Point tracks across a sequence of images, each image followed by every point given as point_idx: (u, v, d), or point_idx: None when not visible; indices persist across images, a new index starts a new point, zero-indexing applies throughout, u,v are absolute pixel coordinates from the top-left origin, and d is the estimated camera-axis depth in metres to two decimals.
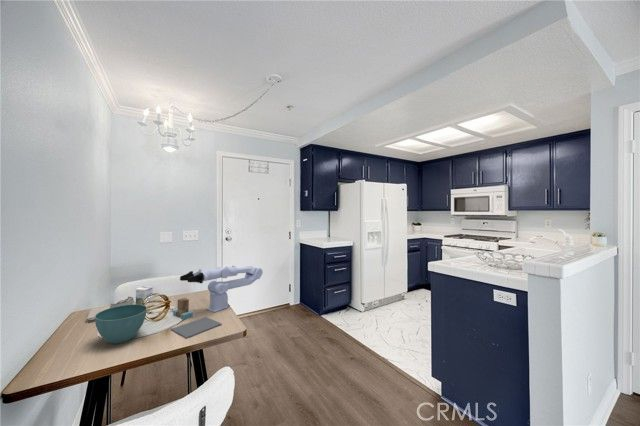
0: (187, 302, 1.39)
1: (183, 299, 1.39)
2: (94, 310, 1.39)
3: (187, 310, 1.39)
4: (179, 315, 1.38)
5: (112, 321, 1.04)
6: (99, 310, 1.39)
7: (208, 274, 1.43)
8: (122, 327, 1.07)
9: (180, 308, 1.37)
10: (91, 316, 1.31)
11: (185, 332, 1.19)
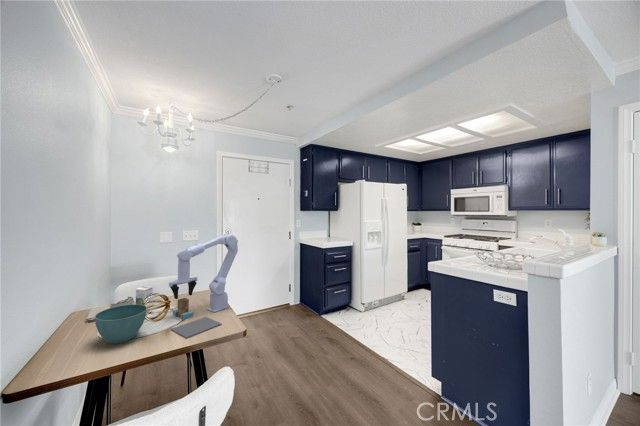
0: (187, 302, 1.39)
1: (183, 299, 1.39)
2: (94, 310, 1.39)
3: (187, 310, 1.39)
4: (179, 315, 1.38)
5: (112, 321, 1.04)
6: (99, 310, 1.39)
7: None
8: (122, 327, 1.07)
9: (180, 308, 1.37)
10: (91, 316, 1.31)
11: (185, 332, 1.19)
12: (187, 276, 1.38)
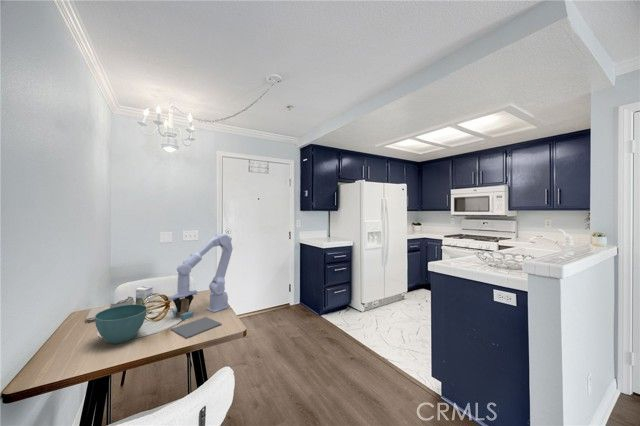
0: (187, 302, 1.39)
1: (183, 299, 1.39)
2: (94, 310, 1.39)
3: (187, 310, 1.39)
4: (179, 315, 1.38)
5: (112, 321, 1.04)
6: (99, 310, 1.39)
7: None
8: (122, 327, 1.07)
9: None
10: (90, 316, 1.31)
11: (185, 332, 1.19)
12: (187, 290, 1.38)
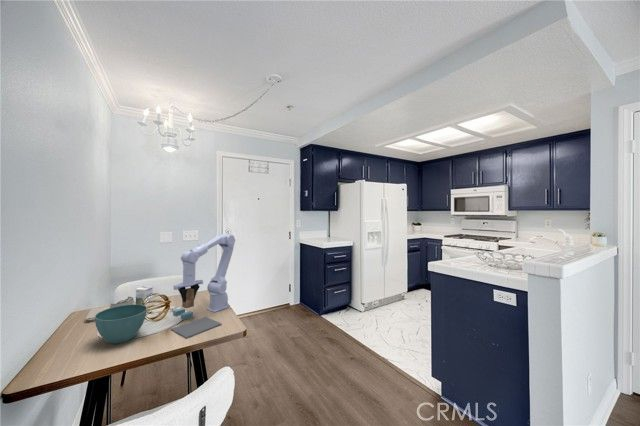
0: (192, 292, 1.34)
1: (188, 289, 1.34)
2: (94, 310, 1.39)
3: (192, 300, 1.34)
4: (184, 305, 1.32)
5: (112, 321, 1.04)
6: (98, 310, 1.39)
7: (183, 277, 1.32)
8: (122, 327, 1.07)
9: None
10: (89, 316, 1.31)
11: (185, 332, 1.19)
12: (192, 279, 1.33)
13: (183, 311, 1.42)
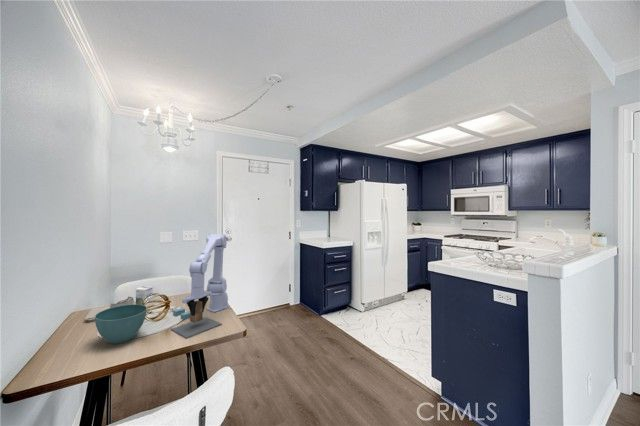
0: (201, 305, 1.27)
1: None
2: (93, 310, 1.39)
3: (201, 313, 1.27)
4: (192, 319, 1.25)
5: (112, 321, 1.04)
6: (98, 310, 1.39)
7: (191, 290, 1.24)
8: (122, 327, 1.07)
9: None
10: (89, 316, 1.31)
11: (185, 332, 1.19)
12: (202, 291, 1.25)
13: (183, 311, 1.42)
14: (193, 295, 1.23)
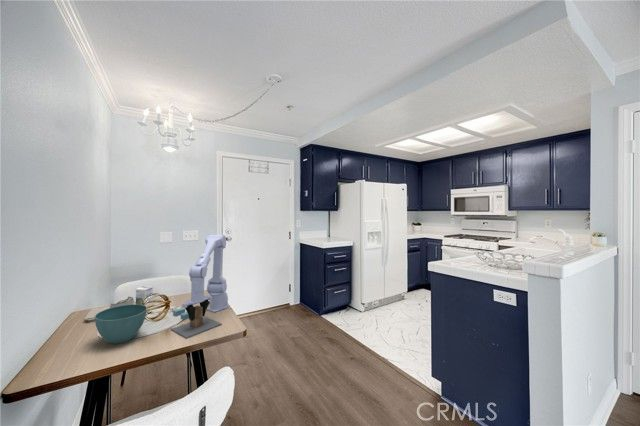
0: (201, 310, 1.27)
1: (196, 307, 1.27)
2: (93, 310, 1.39)
3: (201, 319, 1.27)
4: (192, 325, 1.25)
5: (112, 321, 1.04)
6: (98, 310, 1.39)
7: (191, 294, 1.24)
8: (122, 327, 1.07)
9: (194, 316, 1.24)
10: (89, 316, 1.31)
11: (185, 332, 1.19)
12: (202, 295, 1.25)
13: (183, 311, 1.42)
14: (193, 299, 1.23)
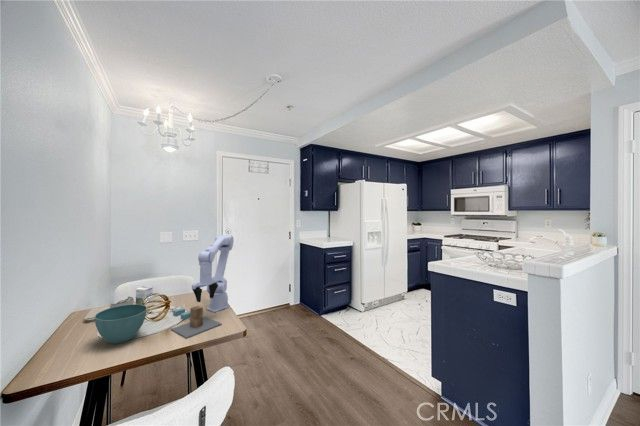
0: (201, 310, 1.27)
1: (196, 307, 1.26)
2: (93, 310, 1.39)
3: (201, 319, 1.27)
4: (193, 325, 1.25)
5: (112, 321, 1.04)
6: (98, 310, 1.39)
7: (200, 277, 1.34)
8: (122, 327, 1.07)
9: (194, 317, 1.24)
10: (88, 316, 1.31)
11: (185, 332, 1.19)
12: (210, 278, 1.35)
13: (183, 311, 1.42)
14: (201, 282, 1.33)
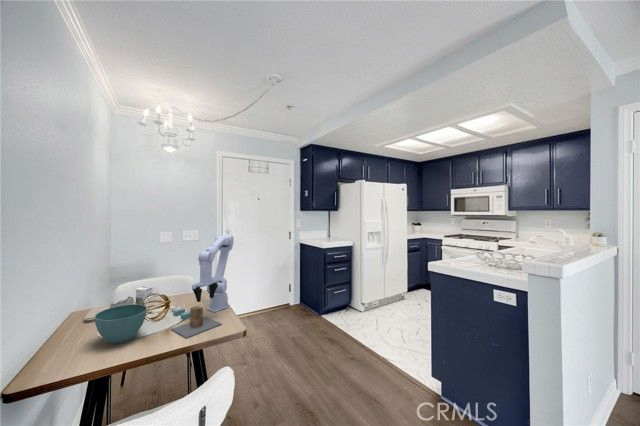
0: (201, 310, 1.27)
1: (196, 307, 1.26)
2: (93, 310, 1.39)
3: (201, 319, 1.27)
4: (193, 325, 1.25)
5: (112, 321, 1.04)
6: (98, 310, 1.39)
7: (200, 277, 1.34)
8: (122, 327, 1.07)
9: (194, 317, 1.24)
10: (88, 316, 1.31)
11: (185, 332, 1.19)
12: (210, 278, 1.35)
13: (183, 311, 1.42)
14: (201, 282, 1.33)
